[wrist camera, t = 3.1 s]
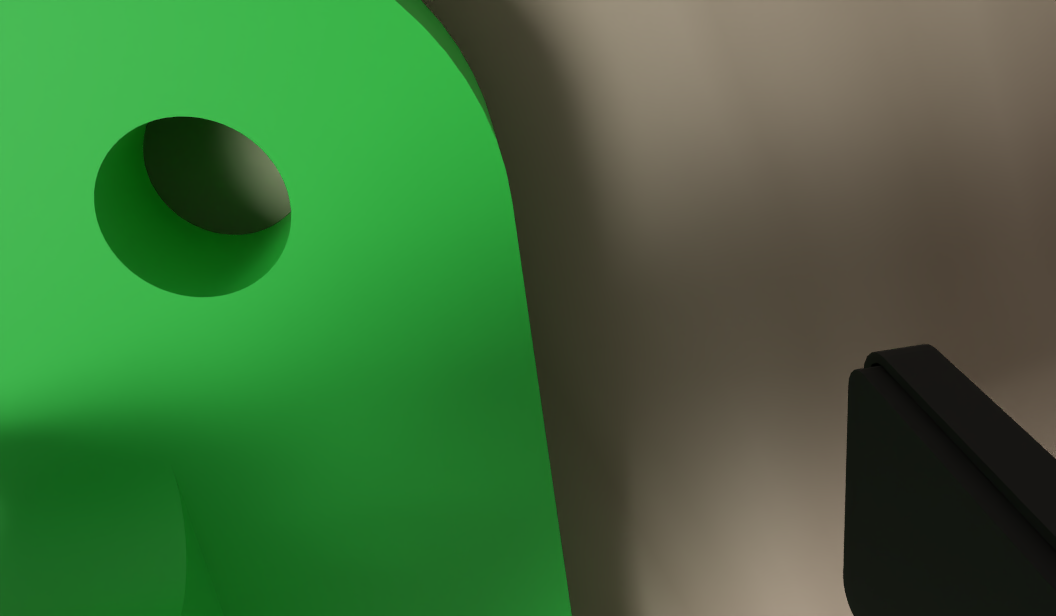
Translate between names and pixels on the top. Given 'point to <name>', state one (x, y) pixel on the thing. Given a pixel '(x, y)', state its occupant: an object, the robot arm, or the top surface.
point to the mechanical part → (263, 325)
